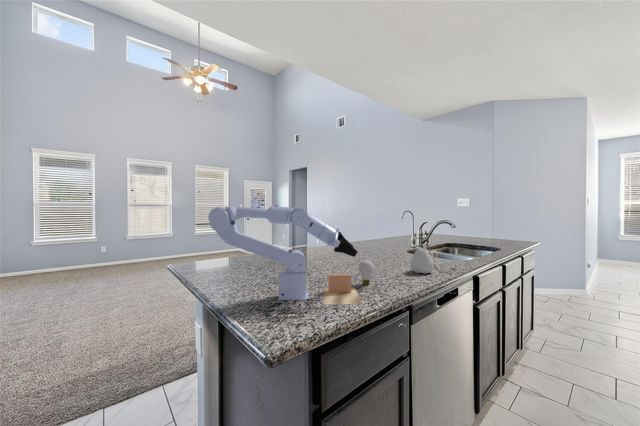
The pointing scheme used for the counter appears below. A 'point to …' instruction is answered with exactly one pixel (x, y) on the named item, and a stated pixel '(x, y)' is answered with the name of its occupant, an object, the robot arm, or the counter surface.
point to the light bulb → (366, 271)
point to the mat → (341, 297)
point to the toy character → (422, 261)
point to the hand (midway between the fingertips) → (353, 251)
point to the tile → (339, 283)
